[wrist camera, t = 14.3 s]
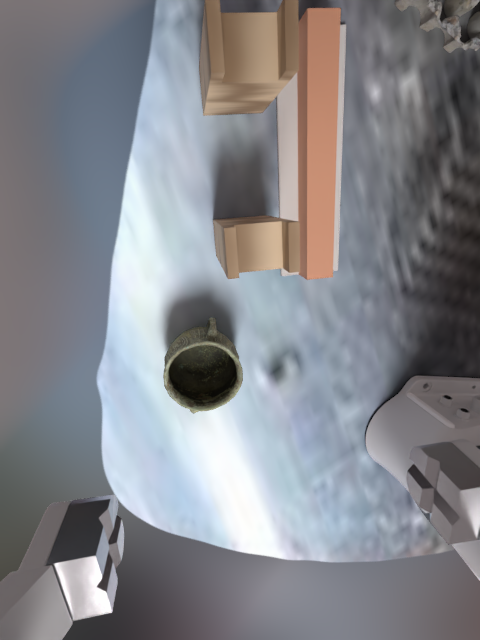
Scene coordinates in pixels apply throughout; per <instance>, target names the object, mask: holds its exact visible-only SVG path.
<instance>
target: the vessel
mask: <svg viewBox="0 0 480 640" xmlns="http://www.w3.org/2000/svg"><path fill="white" fill-rule="evenodd" d="M242 381H243V373H242V367H241V364H240V362H239V356H238V353H237V351H236V348H235V346H234V344H233V343H232V342H231V341H230V340H229V339H228V338H227V337H226V336H225V335H223V334H222V333H220V332H219V331H217V326H216V319H215V318H213V317H212V318H209V321H208V324H207V326H206V327H195V328H192V329H189V330H187V331H185V332H183V333H182V334H181V335H179V336H178V337H177V338H176V339H175V341H174V342H173V343H172V344H171V346H170V348H169V350H168V351H167V353H166V355H165V369H164V385H165V388H166V390H167V392H168V394H169V396H170V397H171V398H172V399H174V400H175V401H176V402H177V403H178V404H179V405H181V406H183V407H185V408H188V409H190V411H191V412H192V413H193V414H194V413H195V412H198V411H208V410H213V409H216V408H218V407H220V406H222V405H224V404H226V403H227V402H229V401H230V400H231V399H232V398H233V397H234V396H235V395H236V393H237V392H238V390H239V389H240V387H241V384H242Z"/></svg>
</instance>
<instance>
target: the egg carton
mask: <svg viewBox="0 0 480 640" xmlns="http://www.w3.org/2000/svg"><path fill="white" fill-rule="evenodd" d="M479 1H480V0H445V3H444V12H445V15H446V16H447V17H448V18H445V19H444V20H442V21H440V15H441V11H442V2H439V1H438V0H396V1H395V5H396V7H397V8H398V9H399V10H401V11H403V10H404V9H405V10H406V8H407V7H408V6H414V7H416V8H418V10H419V11H420V15H421V23H420V26H419V27H420V28H422V29H424V30H426V31H427V32H428V31H429V30H432V29H434V28H435V27H438V28H440V29H442V30H443V32H444V34H445V43H444V46H443V47H444V49H445V50H446V51H448V52H450V53H451V52H452V51H453V50H455V49H456V48H458V47H461V48H463V49H464V50H467V49H469V48H472V49H475V51H477V50H478V49H479V48H480V11H478V12H477V13H475V14H474V15H473V16H472V17H471V18H470V20H469V22H468V25H467V32H468V35H469V37H470V40H469V41H467V42H465V43H463V42H461V41H460V37H461V34H460V31H461V25H460V23H459V17H460V16H462V15H463V14H465V13H466V12H468V11H469V10H471V9H472V8H474V7H475V6H476V5H477V3H478V2H479Z"/></svg>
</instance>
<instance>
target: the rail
mask: <svg viewBox="0 0 480 640" xmlns="http://www.w3.org/2000/svg"><path fill="white" fill-rule="evenodd" d="M340 15H341V8H307V10H306V12H305V13H304V15H303V16H302V18H301V20H300V21H299V23H298V25H299V71H298V72H297V94H298V222H300V272H299V275H301V276H302V277H304V278H305V279H307V280H309V279H319V278H328V277H333V254H334V219H335V185H336V151H337V117H338V83H339V49H340Z"/></svg>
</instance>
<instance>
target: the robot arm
mask: <svg viewBox="0 0 480 640" xmlns="http://www.w3.org/2000/svg"><path fill="white" fill-rule="evenodd" d="M424 384H425V385H424ZM423 385H424V386H423ZM366 448H367V451H368V453H369V455H370V456H371V458H372V459H373V460H374V461H376V462H377V463H378V464H380V465H381V466H382V467H384V468H385V469H386V470H387V471H389V472H390V473H391V474H392V475H393V476H394V477H395V478H396V479H397V480H398V481H399V482H400V483H401V484H402V485H403V486H404V487H405V488H406V489H407V490H408V491H409V492H410V494H411V496H412V498H413V499H414V501H415V502H416V504H417V505H418V507H419V508H420V510H421V511H422V513H423V514H424V515H425V516H426V518H427V519H428V520H429V522H430V523H431V524H432V525H433V527H434V528H435V529H436V530H437V532H438V533H439V534H440V535H441V537H442V538H443V539H444V540H445V541H446V543H447V544H448V545H450V544H452V545H453V547H454V548H455V549H456V551H457V552H458V553H459V554H460V556H461V557H462V558H463V560H464V561H465V562H466V564H467V565H468V566H469V568H470V569H471V570H472V571H473V573H474V574H475V575H476V577H477V578H478V579H479V581H480V378H462V377H440V376H414V377H412V378H411V379H410V380H409V381H408V382H407V383H406V384H405V386H404V387H403V388H402V390H401V391H400V392H399V393H398V394H397V395H396V396H394V397H393V398H392V399H390V400H389V401H387V402H386V403H385V404H384V405H383V406H382V407H381V408H380V409H379V410H378V411H377V412H376V414H375V415H374V416H373V418H372V420H371V422H370V424H369V426H368V429H367V432H366ZM118 506H119V505H118V502H117V498H116V496H115V495H107V496H100V497H92V498H85V499H77V500H73V501H66V502H58V503H52V504H51V505H50V506H49V507H48V508H47V509H46V511H45V513H44V515H43V517H42V519H41V522H40V524H39V526H38V528H37V530H36V533H35V535H34V537H33V539H32V541H31V543H30V546H29V548H28V550H27V552H26V555H25V557H24V559H23V561H22V563H21V565H20V568H19V570H18V571H15V572H11V573H10V574H9V575H7V576H6V577H5V578H4V579H3V580H2V581H1V582H0V640H62V639H63V637H64V636H65V634H66V633H67V631H68V630H69V628H70V627H71V625H72V621H75V620H79V619H83V618H88V617H92V616H96V615H100V614H105V613H110V612H112V609H113V604H114V598H115V593H116V588H117V582H118V579H117V575H116V571H115V568H116V567H117V566H118V564H119V563H120V562H121V560H122V554H123V547H124V529H123V523H122V519H121V518H120V517H119V516H117V510H118Z"/></svg>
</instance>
